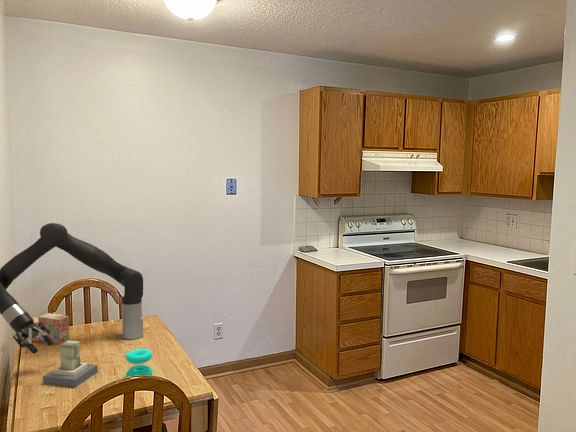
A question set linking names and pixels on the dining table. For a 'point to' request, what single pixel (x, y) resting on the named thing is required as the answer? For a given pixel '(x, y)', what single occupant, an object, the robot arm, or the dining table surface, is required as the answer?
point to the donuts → (139, 362)
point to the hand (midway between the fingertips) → (44, 348)
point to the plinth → (70, 375)
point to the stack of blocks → (54, 327)
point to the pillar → (70, 355)
